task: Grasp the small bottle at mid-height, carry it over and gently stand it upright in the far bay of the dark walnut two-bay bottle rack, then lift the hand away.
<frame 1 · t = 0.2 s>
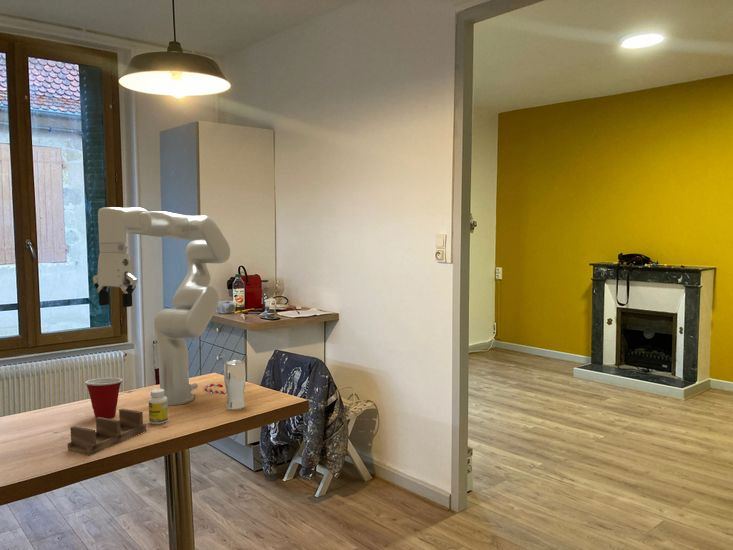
hand: (115, 305, 179), 36 cm above the table, tool pointing down, fingers open, 9 cm apart
supplement bottle: (158, 422, 182), on the table
bottle rack: (108, 440, 166), on the table
beer glass: (235, 407, 195), on the table
plastic cup: (105, 417, 187), on the table
candy cane: (219, 392, 216), on the table
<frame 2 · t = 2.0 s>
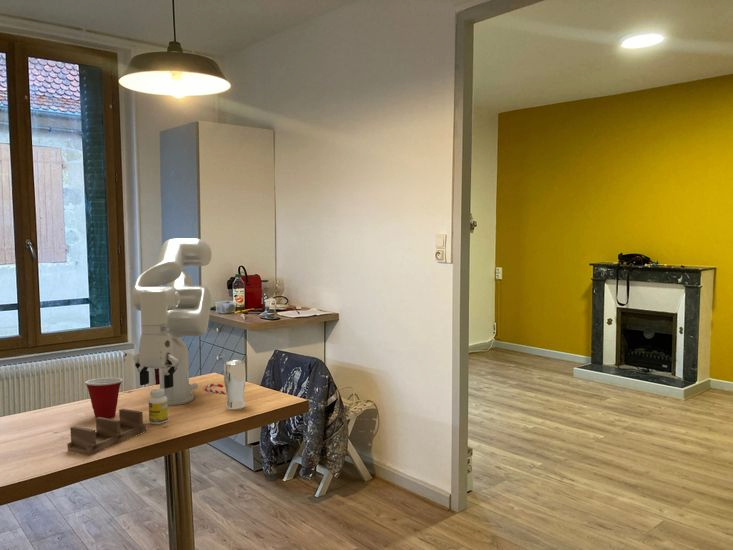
hand: (156, 386, 180), 11 cm above the table, tool pointing down, fingers open, 9 cm apart
nothing on the table moved.
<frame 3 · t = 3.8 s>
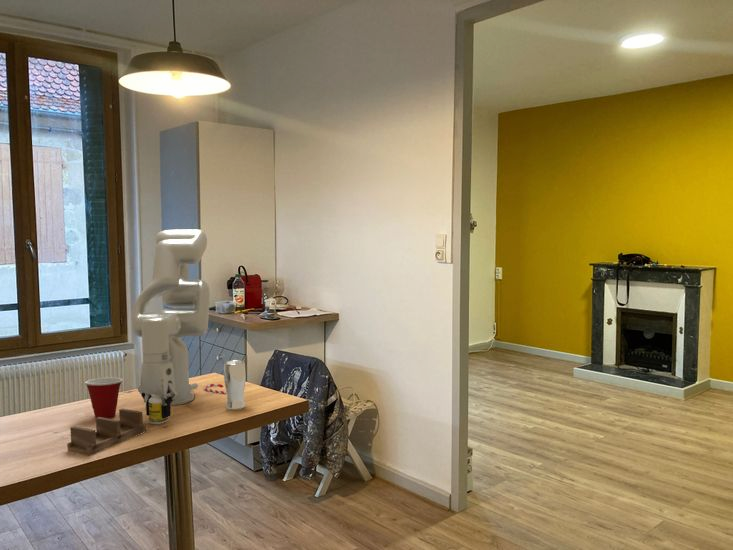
hand: (158, 415, 182), 2 cm above the table, tool pointing down, fingers closed on supplement bottle, 5 cm apart
supplement bottle: (158, 422, 182), on the table, touching gripper
everything else where it was.
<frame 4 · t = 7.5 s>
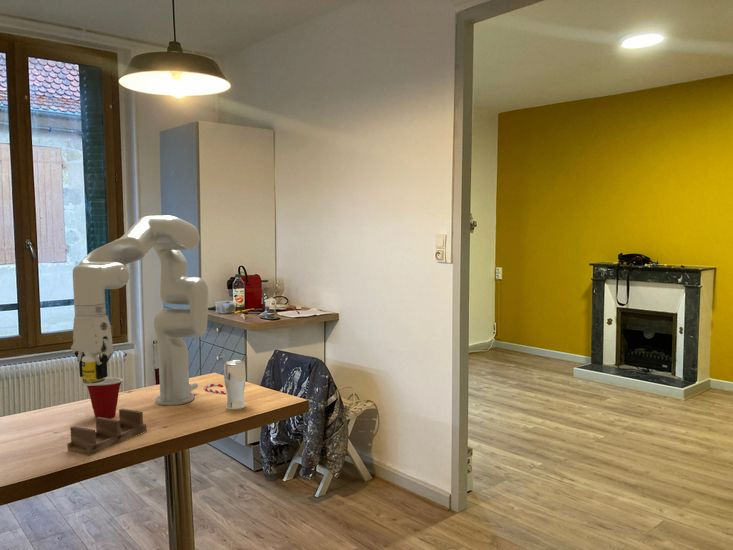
hand: (93, 376, 161), 19 cm above the table, tool pointing down, fingers closed on supplement bottle, 5 cm apart
supplement bottle: (94, 384, 161), point 17 cm above the table, touching gripper
everything else where it was.
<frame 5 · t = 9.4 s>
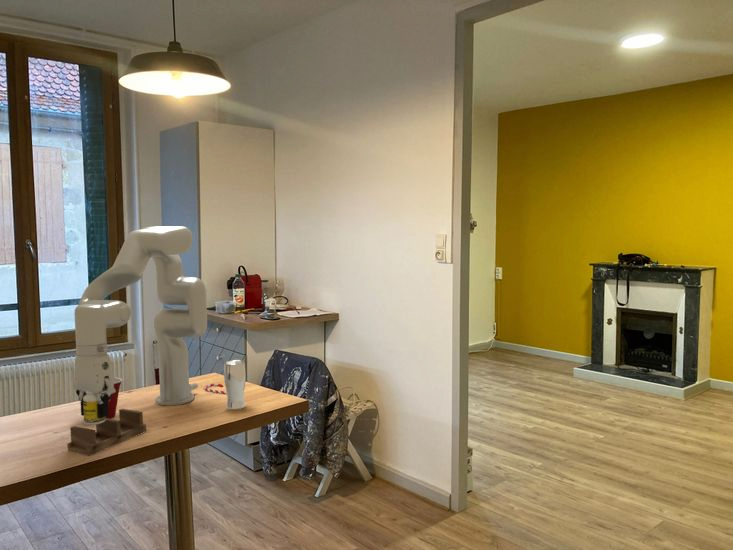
hand: (94, 415, 161), 9 cm above the table, tool pointing down, fingers closed on supplement bottle, 5 cm apart
supplement bottle: (95, 422, 161), point 7 cm above the table, touching gripper
everything else where it was.
when the fingers open (4 cm above the table, at t = 11.1 s): supplement bottle drops 1 cm, resting on bottle rack.
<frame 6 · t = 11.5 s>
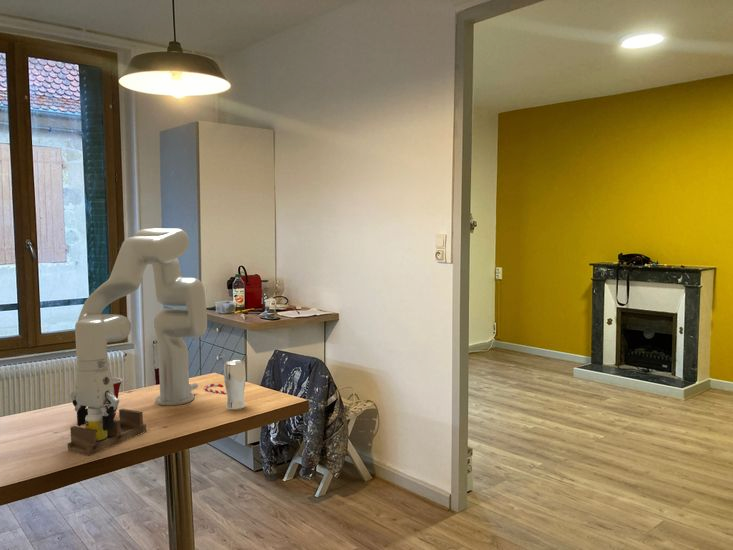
hand: (95, 426, 162), 5 cm above the table, tool pointing down, fingers open, 9 cm apart
supplement bottle: (97, 442, 162), point 1 cm above the table, touching bottle rack
everything else where it was.
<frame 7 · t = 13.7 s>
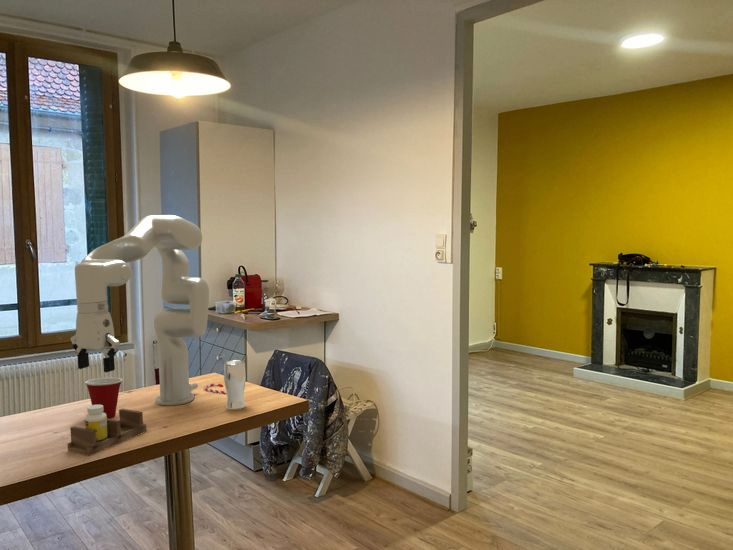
hand: (96, 369, 163), 21 cm above the table, tool pointing down, fingers open, 9 cm apart
nothing on the table moved.
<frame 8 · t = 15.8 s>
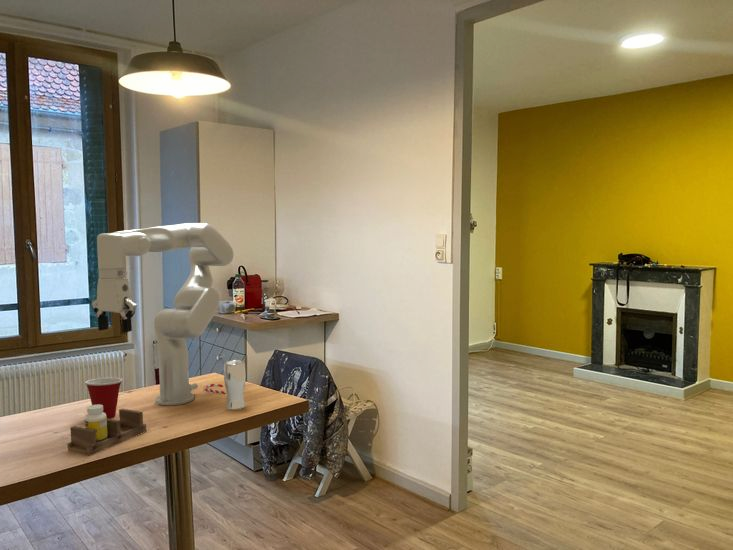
hand: (115, 330, 179), 28 cm above the table, tool pointing down, fingers open, 9 cm apart
nothing on the table moved.
at the end: supplement bottle 0.2 cm from the target spot on the bottle rack, point 1.0 cm above the bottle rack's base; supplement bottle tilted 0°; the gripper is holding nothing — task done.
